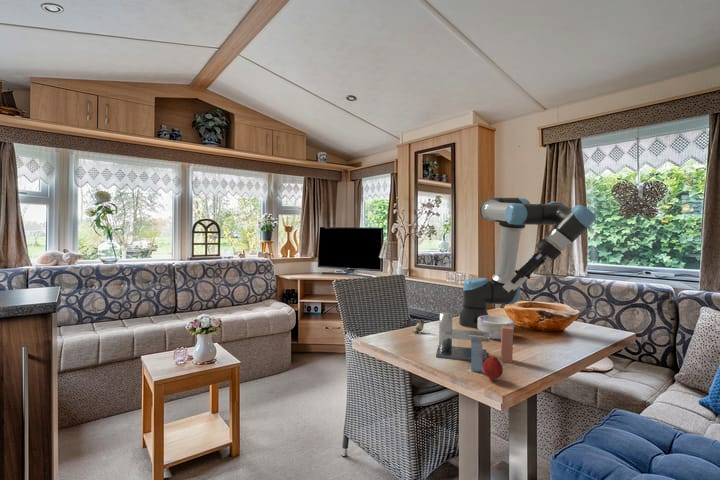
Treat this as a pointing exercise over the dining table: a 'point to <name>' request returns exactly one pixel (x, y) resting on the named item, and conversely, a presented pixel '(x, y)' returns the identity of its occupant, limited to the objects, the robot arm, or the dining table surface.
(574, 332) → the dining table surface
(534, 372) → the dining table surface
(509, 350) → the pink rectangular block
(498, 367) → the onion
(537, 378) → the dining table surface
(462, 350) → the grey stand
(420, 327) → the greenish grey small figure
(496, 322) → the paper bowls
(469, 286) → the robot arm
